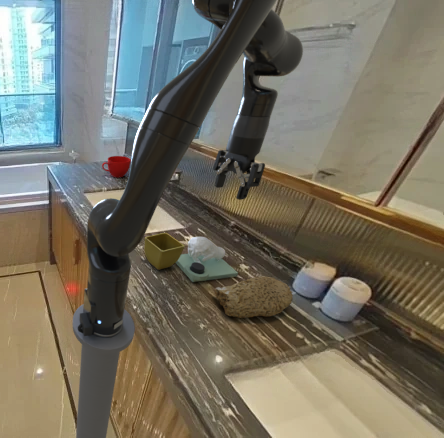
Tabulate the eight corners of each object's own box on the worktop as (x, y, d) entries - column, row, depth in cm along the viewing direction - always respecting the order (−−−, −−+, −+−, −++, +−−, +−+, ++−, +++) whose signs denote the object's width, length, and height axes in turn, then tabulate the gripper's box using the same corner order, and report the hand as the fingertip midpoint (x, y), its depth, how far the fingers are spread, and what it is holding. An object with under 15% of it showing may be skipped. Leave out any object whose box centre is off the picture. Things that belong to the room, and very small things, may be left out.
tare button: (194, 274, 84) (196, 270, 83) (187, 267, 87) (189, 262, 86) (205, 273, 85) (207, 268, 84) (198, 266, 88) (199, 261, 87)
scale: (191, 285, 84) (193, 277, 83) (168, 259, 95) (169, 251, 94) (239, 279, 86) (243, 271, 85) (211, 253, 98) (213, 246, 96)
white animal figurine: (189, 232, 91) (224, 234, 92) (181, 254, 95) (215, 255, 96) (199, 243, 85) (236, 245, 86) (190, 265, 90) (225, 267, 91)
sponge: (231, 329, 72) (315, 316, 70) (230, 303, 69) (317, 289, 67) (206, 299, 84) (276, 287, 82) (205, 276, 82) (277, 264, 80)
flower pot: (161, 253, 98) (166, 231, 94) (179, 268, 91) (185, 245, 87) (140, 259, 95) (144, 236, 91) (157, 275, 88) (162, 251, 84)
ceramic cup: (96, 174, 169) (97, 157, 165) (121, 171, 174) (123, 155, 169) (106, 181, 159) (107, 164, 154) (133, 178, 163) (135, 161, 158)
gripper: (285, 139, 66) (261, 202, 74) (239, 127, 78) (223, 182, 86) (256, 140, 65) (235, 204, 72) (215, 128, 77) (201, 184, 85)
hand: (228, 192), depth 79 cm, fingers open, 8 cm apart
